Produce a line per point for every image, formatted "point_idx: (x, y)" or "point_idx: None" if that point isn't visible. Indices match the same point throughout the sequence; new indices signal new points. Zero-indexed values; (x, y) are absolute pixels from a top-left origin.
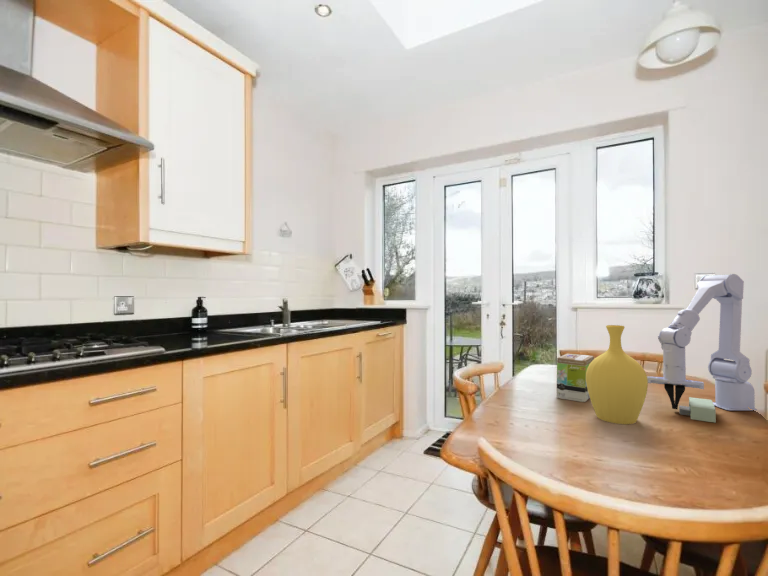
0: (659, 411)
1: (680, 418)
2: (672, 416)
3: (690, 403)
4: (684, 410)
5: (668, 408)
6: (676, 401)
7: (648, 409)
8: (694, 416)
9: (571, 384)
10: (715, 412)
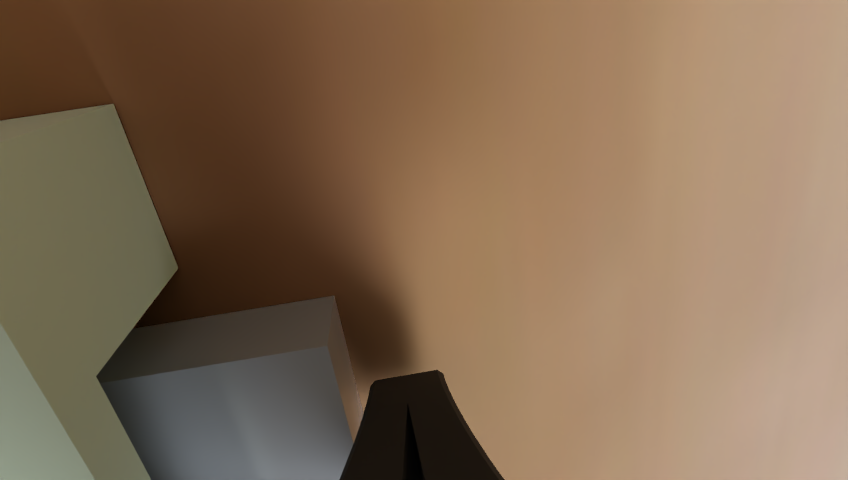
0: (588, 246)
1: (257, 19)
2: (392, 67)
3: (86, 476)
4: (257, 351)
5: None
6: (380, 475)
7: (726, 247)
8: (23, 125)
9: None
10: None
